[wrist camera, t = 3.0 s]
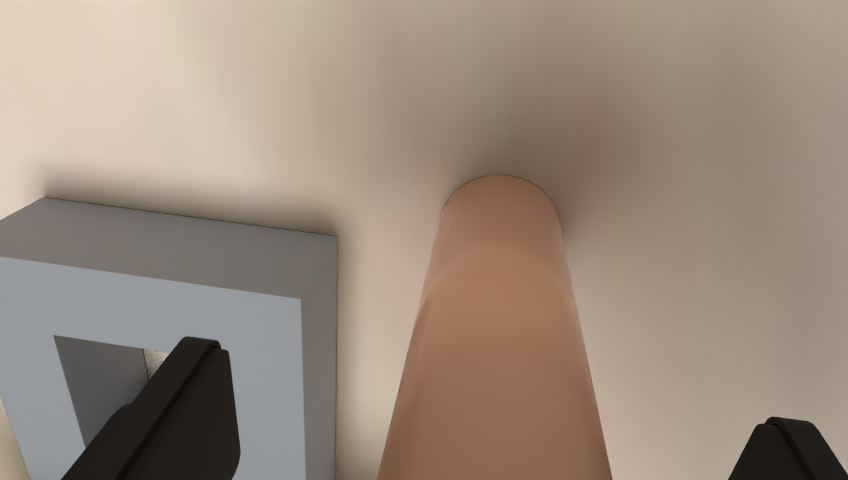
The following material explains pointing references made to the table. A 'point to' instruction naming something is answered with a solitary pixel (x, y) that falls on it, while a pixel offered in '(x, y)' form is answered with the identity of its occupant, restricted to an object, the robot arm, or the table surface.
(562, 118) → the table surface
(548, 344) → the peg
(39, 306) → the socket
